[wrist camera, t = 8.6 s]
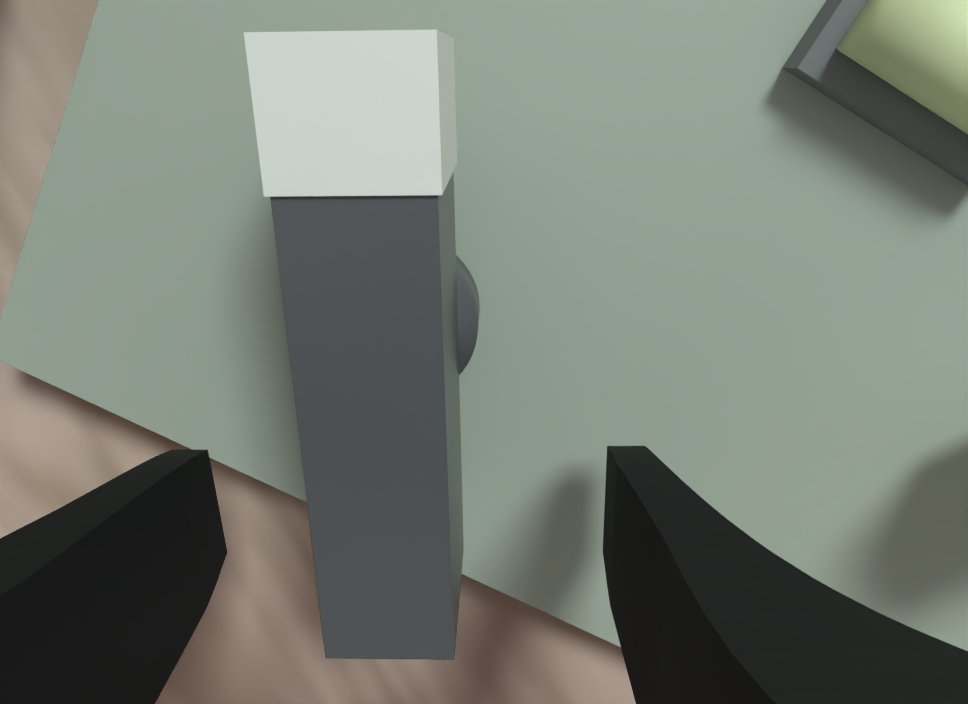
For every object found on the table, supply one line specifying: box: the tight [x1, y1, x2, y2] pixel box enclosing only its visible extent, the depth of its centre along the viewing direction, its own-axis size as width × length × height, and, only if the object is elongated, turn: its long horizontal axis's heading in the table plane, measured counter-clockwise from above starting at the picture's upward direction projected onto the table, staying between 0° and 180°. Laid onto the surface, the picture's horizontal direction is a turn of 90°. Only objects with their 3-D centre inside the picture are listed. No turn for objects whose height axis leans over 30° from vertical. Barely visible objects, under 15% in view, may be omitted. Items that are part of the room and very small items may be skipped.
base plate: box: [0, 0, 968, 651], centre depth 12 cm, size 24×14×3 cm, turn 61°
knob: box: [244, 29, 480, 660], centre depth 10 cm, size 8×2×4 cm, turn 1°
